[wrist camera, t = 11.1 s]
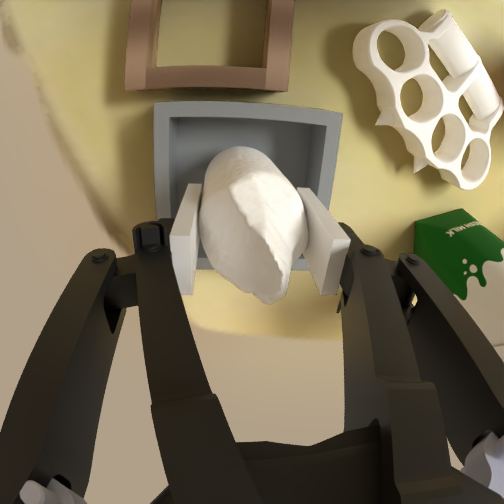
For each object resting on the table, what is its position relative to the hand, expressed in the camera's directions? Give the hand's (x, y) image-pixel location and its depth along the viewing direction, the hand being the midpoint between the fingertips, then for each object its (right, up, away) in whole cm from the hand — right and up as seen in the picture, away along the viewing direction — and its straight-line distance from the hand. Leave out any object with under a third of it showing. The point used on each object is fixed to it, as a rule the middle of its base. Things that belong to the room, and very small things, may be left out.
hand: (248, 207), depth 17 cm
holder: (-3, +14, 0) cm, 15 cm away
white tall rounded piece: (0, +2, +4) cm, 5 cm away
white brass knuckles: (+17, +12, +4) cm, 21 cm away
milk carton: (+21, -1, +12) cm, 24 cm away
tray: (-1, +4, +6) cm, 7 cm away
